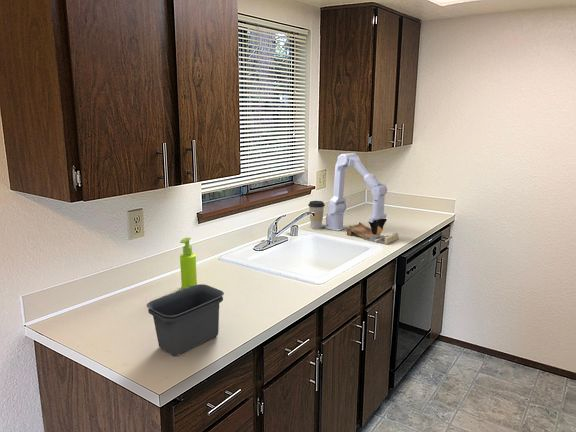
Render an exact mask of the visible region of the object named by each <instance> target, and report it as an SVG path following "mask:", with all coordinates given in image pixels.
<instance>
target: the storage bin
mask: <svg viewBox="0 0 576 432" xmlns="http://www.w3.org/2000/svg"><path fill="white" fill-rule="evenodd" d="M224 294H225V292H224V291H222V290H221V289H218V288H215V287H213V286H211V285H208V284H203V283H200V284H197V285H194V286H190V287H188V288H185V289H182V288H181V289H180V290H177V291H175V292H171V293H169V294H166V295H164V296H161V297H158V298H155V299H153V300H151V301H149V302H147V304H146V308H147V310H148V311H147V312H148V314H150V315H151V316H152V317H153V323H154V329H155V334H156V339H157V343H158V346H159V348H160V349H162V350H164V351H165V352H166V353H169V354H170V355H172V356H175V357H176V355H177V356H179V355H181V354H183V353H185V352H187V351H189V350H192V349H193V348H196V347H197V346H200V345H201V344H203V343H205V342H207V341H209V340H211V339H213V338H215V337H217V336H218V335H219V327H220V325H219V324H220V303H222V302H223V301H224ZM178 354H179V355H178Z"/></svg>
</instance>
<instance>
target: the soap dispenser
mask: <svg viewBox="0 0 576 432" xmlns="http://www.w3.org/2000/svg"><path fill="white" fill-rule="evenodd" d="M190 240H192V239H191V237H184V238H182V239H181V240H180V241H179V243H181V244H184V245H183V246H182V253H181V254H179V261H180V262H179V263H180V277H181V278H180V280H181V282H180V283H181V290H182V289H185V288H188V287H190V286H194V285H198V280H197V279H198V278H197V259H196V258H197V255H196V254H195V253H194V252H193V247H192V245H191V244H190Z"/></svg>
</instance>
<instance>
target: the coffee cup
mask: <svg viewBox="0 0 576 432" xmlns="http://www.w3.org/2000/svg"><path fill="white" fill-rule="evenodd" d="M307 206H308V207H309V211H308V212H315V216H310V215H309V221H310V228H311V229H313V230H319V229H322V224H323V220H324V209H325V206H326V205H325V203H324V201H322V200H312V201H309V203H308V204H307Z"/></svg>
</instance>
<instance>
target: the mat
mask: <svg viewBox="0 0 576 432" xmlns="http://www.w3.org/2000/svg"><path fill="white" fill-rule="evenodd" d="M363 240H364V241H368V242H372V243H376V244H377V243H378V244H383V245H386V246H387V245H388V244H391V243H394V242H395V241H397V240H399V232H398V233H397V232H395V233H392V234H390V235H383V234H380V235H374V236H372V237H369V239H366V238H365V239H363Z"/></svg>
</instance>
